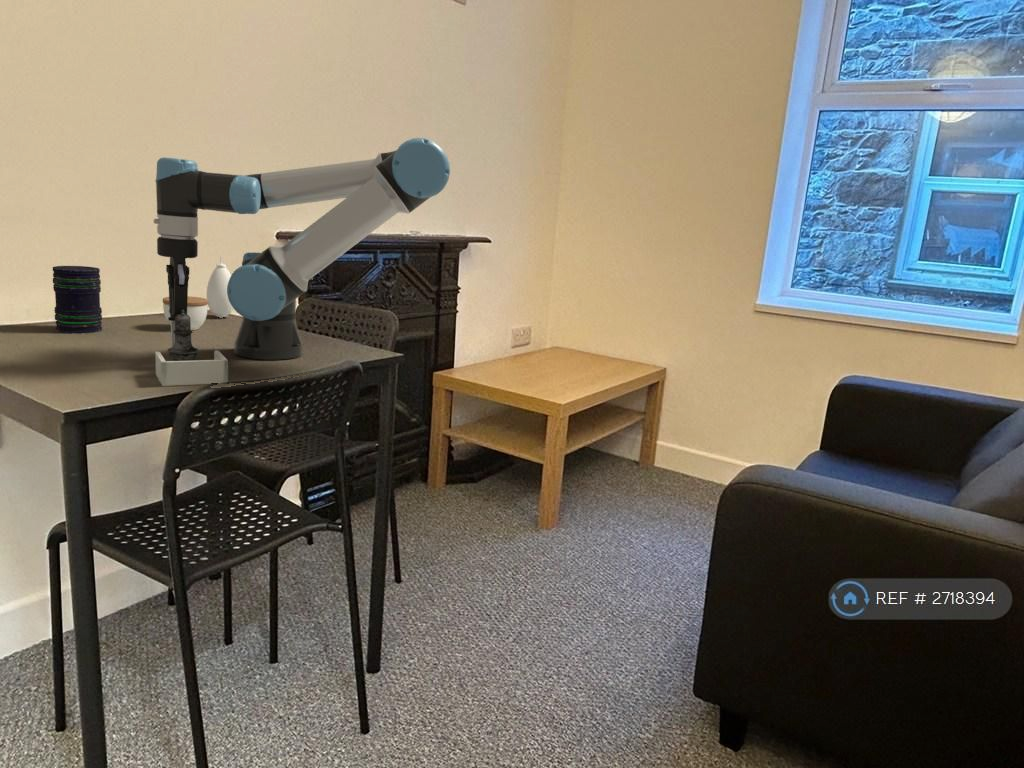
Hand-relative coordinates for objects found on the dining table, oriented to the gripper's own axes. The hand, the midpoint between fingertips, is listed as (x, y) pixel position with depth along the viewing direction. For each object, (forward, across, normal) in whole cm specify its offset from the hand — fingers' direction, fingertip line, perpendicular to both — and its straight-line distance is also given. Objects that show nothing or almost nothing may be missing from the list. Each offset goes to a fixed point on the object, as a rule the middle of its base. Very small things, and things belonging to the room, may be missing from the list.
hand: (178, 350), depth 152 cm
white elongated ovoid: (+3, -56, +18) cm, 59 cm away
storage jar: (+3, -38, -18) cm, 42 cm away
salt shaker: (+3, +5, 0) cm, 6 cm away
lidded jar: (+3, -39, +6) cm, 40 cm away
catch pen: (+3, +15, +1) cm, 15 cm away
